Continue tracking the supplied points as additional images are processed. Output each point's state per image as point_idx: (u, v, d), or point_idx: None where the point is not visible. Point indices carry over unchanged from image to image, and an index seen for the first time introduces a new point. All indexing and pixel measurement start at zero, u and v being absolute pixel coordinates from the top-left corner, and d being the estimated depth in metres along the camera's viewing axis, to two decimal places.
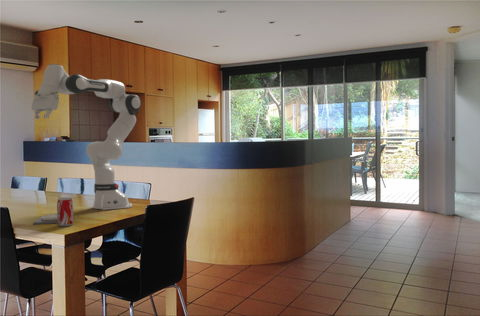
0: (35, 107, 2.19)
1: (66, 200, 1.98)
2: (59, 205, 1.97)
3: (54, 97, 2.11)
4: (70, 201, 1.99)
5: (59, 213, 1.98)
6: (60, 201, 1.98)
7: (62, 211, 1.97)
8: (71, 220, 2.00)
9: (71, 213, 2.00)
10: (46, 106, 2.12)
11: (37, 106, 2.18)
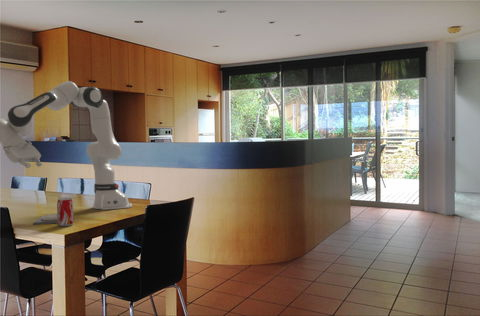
0: None
1: (66, 200, 1.98)
2: (59, 205, 1.97)
3: (6, 153, 1.95)
4: (70, 201, 1.99)
5: (59, 213, 1.98)
6: (60, 201, 1.98)
7: (62, 211, 1.97)
8: (71, 220, 2.00)
9: (71, 213, 2.00)
10: None
11: None
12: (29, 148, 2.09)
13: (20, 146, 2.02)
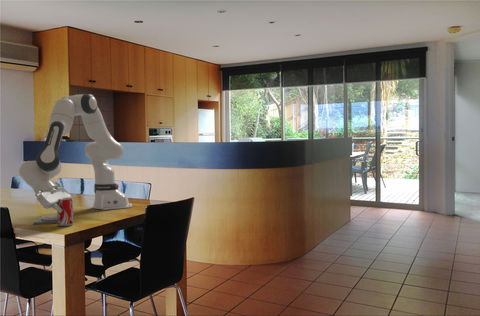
0: None
1: (66, 200, 1.98)
2: (59, 205, 1.98)
3: (38, 199, 1.92)
4: (70, 201, 2.00)
5: (59, 213, 1.98)
6: (60, 201, 1.98)
7: None
8: (71, 220, 2.00)
9: (71, 213, 2.00)
10: None
11: None
12: (59, 190, 2.06)
13: (51, 190, 1.99)
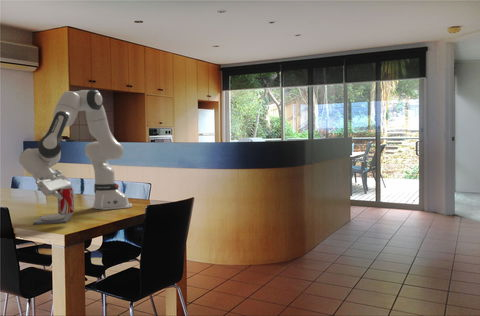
0: None
1: (66, 189, 1.98)
2: None
3: (38, 186, 1.92)
4: (70, 190, 2.00)
5: (60, 202, 1.98)
6: (60, 190, 1.98)
7: (62, 200, 1.98)
8: (72, 209, 2.00)
9: (72, 202, 2.00)
10: None
11: None
12: (60, 178, 2.06)
13: (51, 177, 1.99)
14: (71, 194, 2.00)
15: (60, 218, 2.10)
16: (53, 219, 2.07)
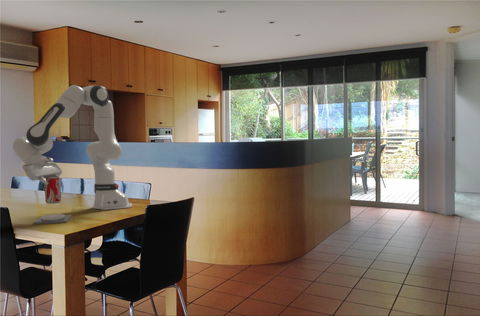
0: None
1: (52, 178, 2.08)
2: None
3: (25, 171, 2.03)
4: (57, 180, 2.09)
5: (46, 190, 2.09)
6: (47, 179, 2.08)
7: (48, 189, 2.08)
8: (57, 198, 2.10)
9: (57, 191, 2.10)
10: None
11: None
12: (50, 165, 2.17)
13: (40, 164, 2.10)
14: (57, 184, 2.10)
15: (60, 218, 2.10)
16: (53, 219, 2.07)
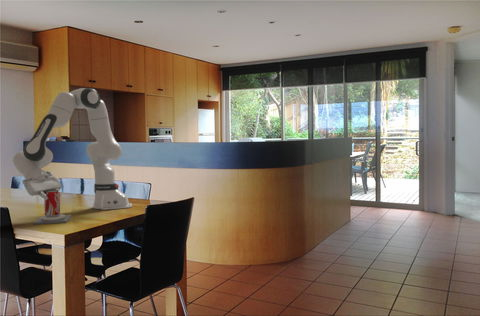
0: None
1: (51, 192, 2.09)
2: None
3: (25, 186, 2.04)
4: (56, 193, 2.10)
5: (45, 204, 2.09)
6: (46, 193, 2.09)
7: (47, 202, 2.09)
8: (56, 211, 2.11)
9: (56, 204, 2.10)
10: None
11: None
12: (50, 179, 2.18)
13: (40, 179, 2.11)
14: (56, 197, 2.10)
15: (60, 218, 2.10)
16: (53, 219, 2.07)
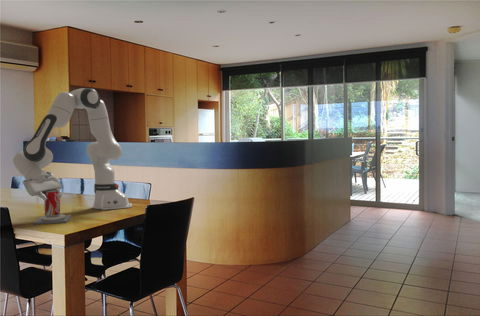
0: None
1: (51, 192, 2.09)
2: None
3: None
4: (56, 193, 2.10)
5: (45, 204, 2.09)
6: (46, 193, 2.09)
7: (47, 202, 2.09)
8: (56, 211, 2.11)
9: (56, 204, 2.10)
10: None
11: None
12: (50, 180, 2.18)
13: (40, 179, 2.11)
14: (56, 197, 2.10)
15: (60, 218, 2.10)
16: (53, 219, 2.07)
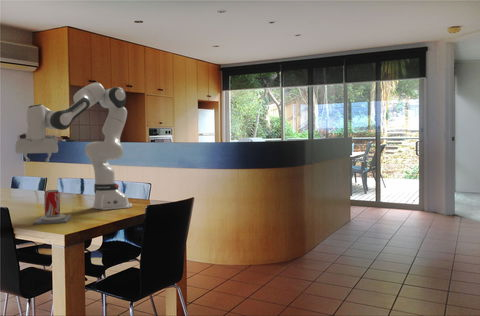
0: (24, 151, 2.17)
1: (51, 192, 2.09)
2: (45, 196, 2.09)
3: (56, 141, 2.21)
4: (56, 193, 2.10)
5: (45, 204, 2.09)
6: (46, 193, 2.09)
7: (47, 202, 2.09)
8: (56, 211, 2.11)
9: (56, 204, 2.10)
10: (48, 151, 2.20)
11: (29, 150, 2.18)
12: None
13: None
14: (56, 197, 2.10)
15: (60, 218, 2.10)
16: (53, 219, 2.07)
